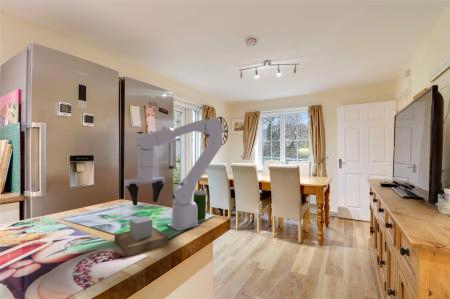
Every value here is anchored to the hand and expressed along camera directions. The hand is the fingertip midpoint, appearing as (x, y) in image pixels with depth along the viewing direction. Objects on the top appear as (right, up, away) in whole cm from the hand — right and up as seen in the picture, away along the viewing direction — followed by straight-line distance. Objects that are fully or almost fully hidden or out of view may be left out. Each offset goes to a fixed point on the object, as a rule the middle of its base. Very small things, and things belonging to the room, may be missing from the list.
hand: (145, 203), depth 82 cm
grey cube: (+3, -7, -12) cm, 14 cm away
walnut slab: (+3, -10, -12) cm, 16 cm away
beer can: (+18, -10, +12) cm, 24 cm away
